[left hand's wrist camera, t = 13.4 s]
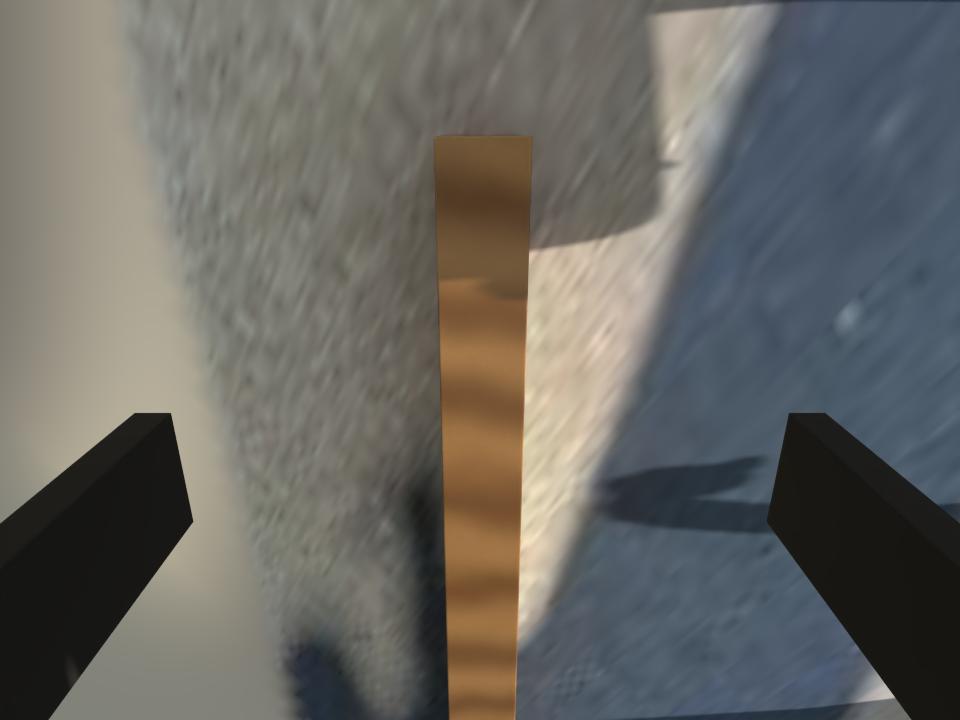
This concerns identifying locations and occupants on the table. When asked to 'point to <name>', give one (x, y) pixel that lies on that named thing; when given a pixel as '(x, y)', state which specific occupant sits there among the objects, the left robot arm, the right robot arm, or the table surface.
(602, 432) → the table surface
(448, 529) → the beam
